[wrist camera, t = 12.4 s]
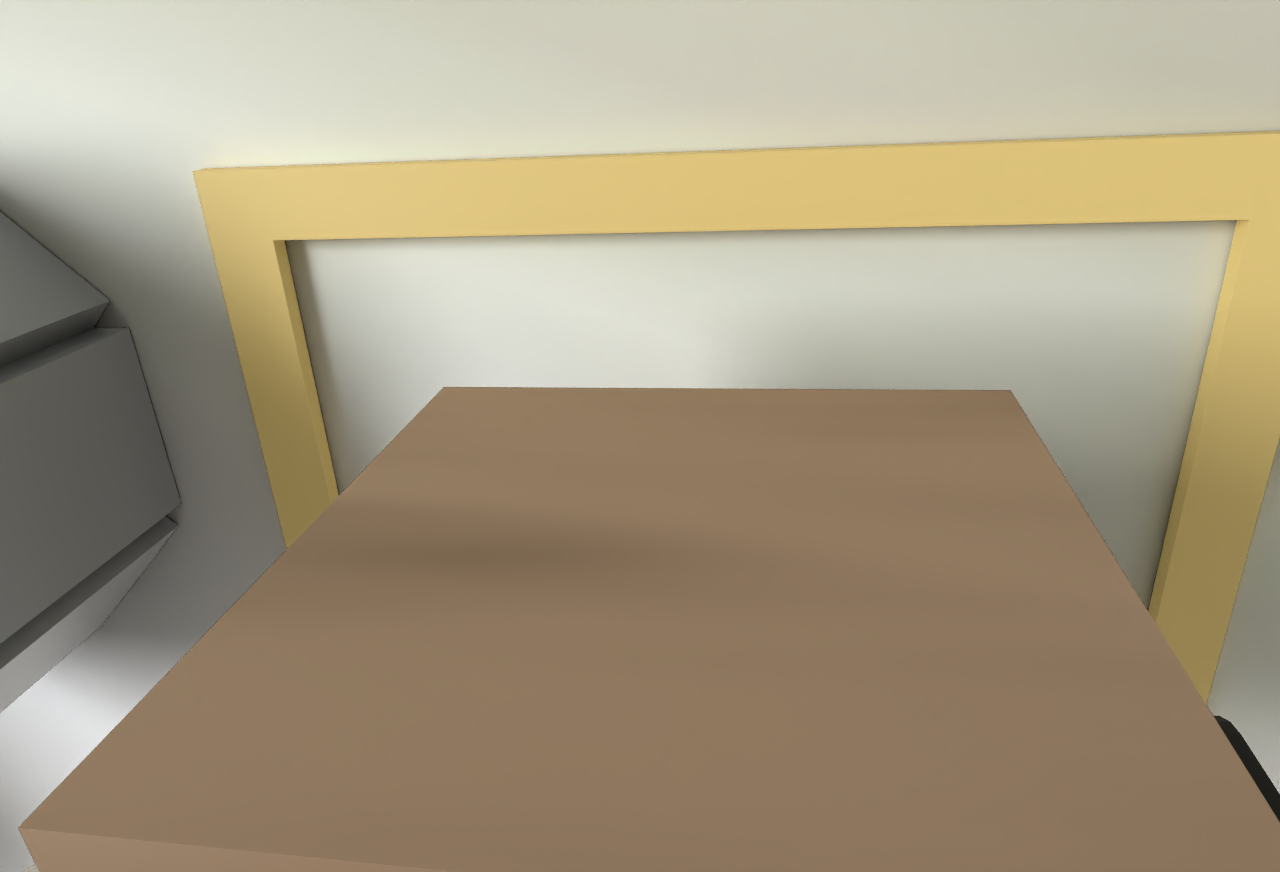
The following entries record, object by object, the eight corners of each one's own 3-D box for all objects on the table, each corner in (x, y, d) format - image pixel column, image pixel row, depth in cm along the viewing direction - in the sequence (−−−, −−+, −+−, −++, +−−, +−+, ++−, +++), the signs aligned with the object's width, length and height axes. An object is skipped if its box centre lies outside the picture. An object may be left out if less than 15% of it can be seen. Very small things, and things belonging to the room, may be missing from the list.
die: (978, 824, 11) (1171, 1631, 6) (506, 786, 12) (265, 1436, 7) (1041, 391, 9) (1514, 1054, 3) (443, 386, 10) (-31, 880, 4)
